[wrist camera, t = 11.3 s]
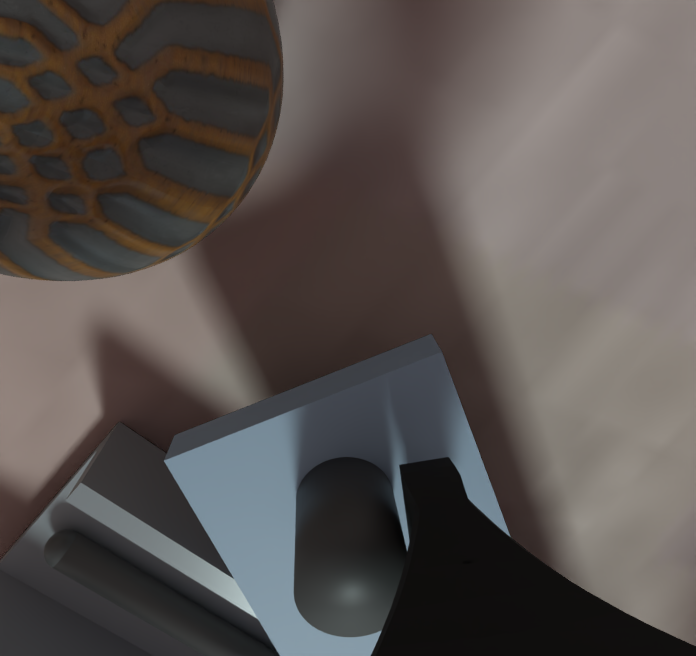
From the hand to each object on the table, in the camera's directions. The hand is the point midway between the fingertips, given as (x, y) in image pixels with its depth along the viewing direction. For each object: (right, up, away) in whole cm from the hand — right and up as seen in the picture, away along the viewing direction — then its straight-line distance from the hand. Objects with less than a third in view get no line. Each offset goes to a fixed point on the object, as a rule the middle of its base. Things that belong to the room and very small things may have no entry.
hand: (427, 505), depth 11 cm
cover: (+1, -6, +4) cm, 7 cm away
